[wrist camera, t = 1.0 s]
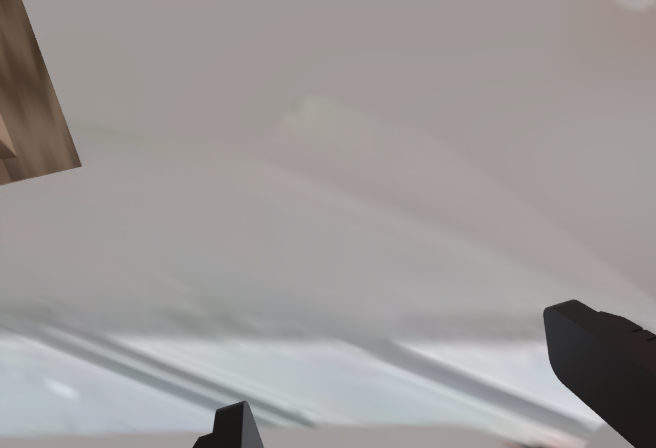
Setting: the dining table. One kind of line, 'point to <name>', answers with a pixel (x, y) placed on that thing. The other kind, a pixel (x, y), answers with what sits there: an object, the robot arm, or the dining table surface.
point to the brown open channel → (28, 105)
